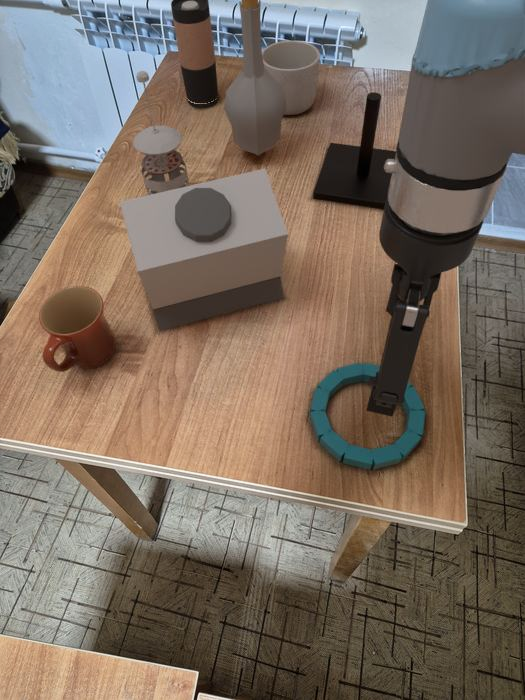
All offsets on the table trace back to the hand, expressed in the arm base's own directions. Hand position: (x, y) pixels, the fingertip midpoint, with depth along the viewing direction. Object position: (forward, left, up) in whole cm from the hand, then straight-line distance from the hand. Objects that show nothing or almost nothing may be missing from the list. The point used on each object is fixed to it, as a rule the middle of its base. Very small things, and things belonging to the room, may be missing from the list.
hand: (389, 358), depth 57 cm
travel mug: (+50, -72, -16) cm, 89 cm away
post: (+10, -52, -16) cm, 55 cm away
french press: (+44, -37, -16) cm, 59 cm away
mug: (+43, 0, -16) cm, 46 cm away
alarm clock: (+29, -18, -16) cm, 37 cm away
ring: (+1, -1, -16) cm, 16 cm away
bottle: (+32, -55, -16) cm, 65 cm away
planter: (+30, -74, -16) cm, 81 cm away
